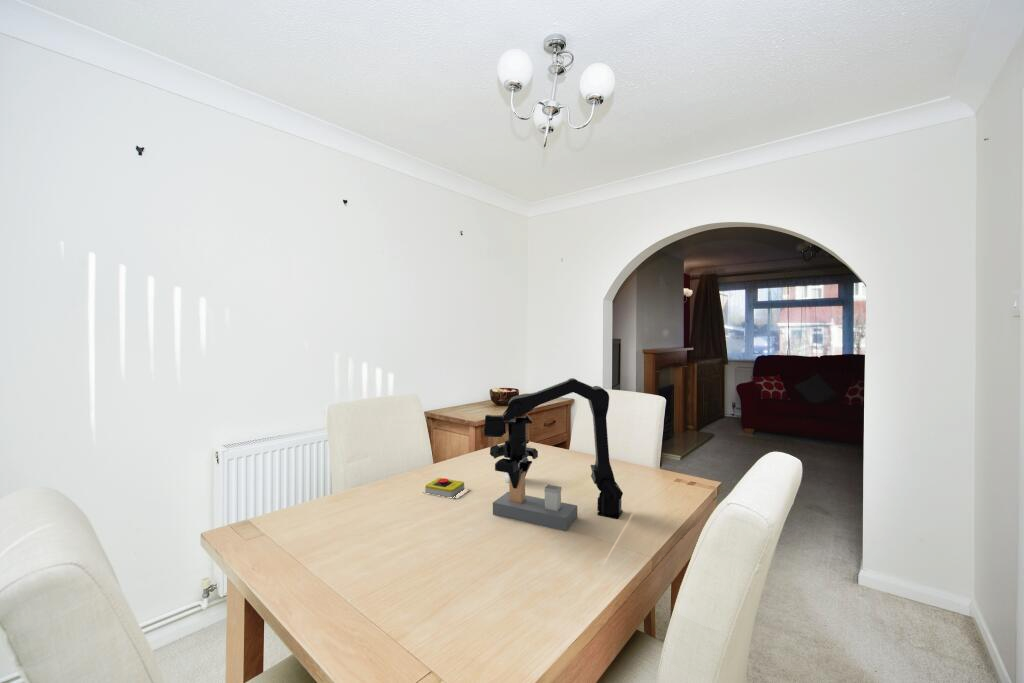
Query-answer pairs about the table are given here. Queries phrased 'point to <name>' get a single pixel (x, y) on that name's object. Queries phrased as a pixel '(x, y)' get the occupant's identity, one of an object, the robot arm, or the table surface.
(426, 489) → the emergency button
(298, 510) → the table surface
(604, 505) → the robot arm
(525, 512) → the block
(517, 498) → the terracotta plug
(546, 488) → the grey plug
